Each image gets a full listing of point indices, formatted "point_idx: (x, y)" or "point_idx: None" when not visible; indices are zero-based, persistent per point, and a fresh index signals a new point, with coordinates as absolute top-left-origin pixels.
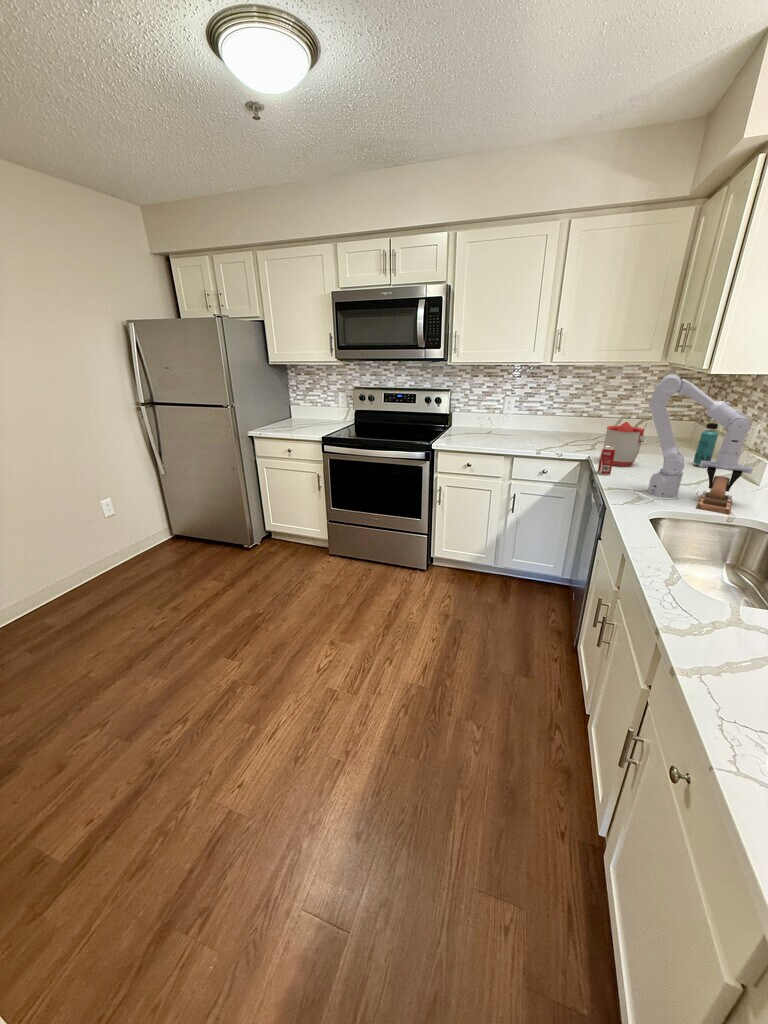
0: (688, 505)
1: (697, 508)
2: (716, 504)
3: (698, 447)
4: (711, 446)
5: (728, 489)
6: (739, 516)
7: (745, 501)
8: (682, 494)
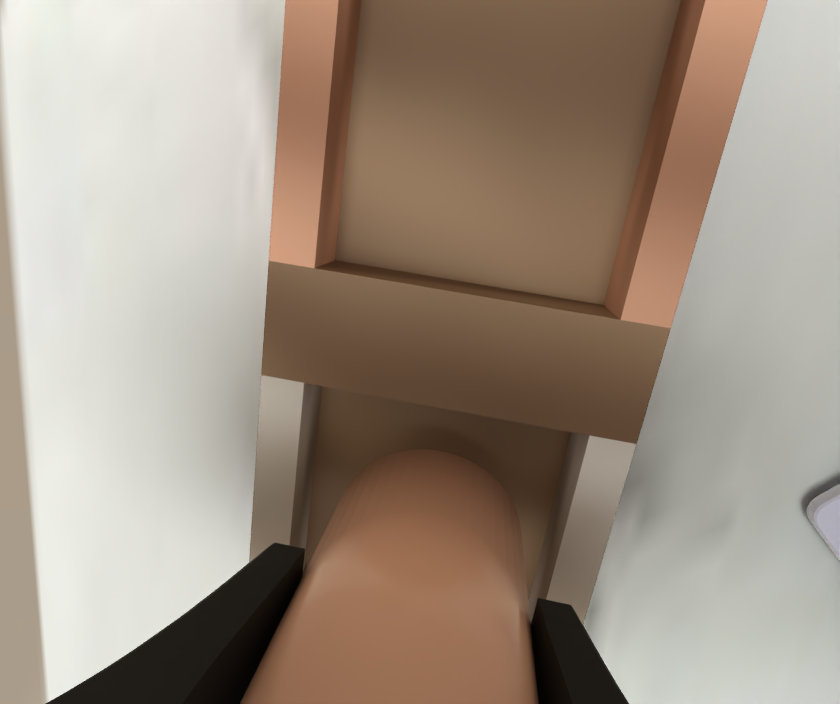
0: (801, 187)
1: None
2: (442, 281)
3: None
4: None
5: (263, 563)
6: (196, 17)
7: None
8: (759, 658)
